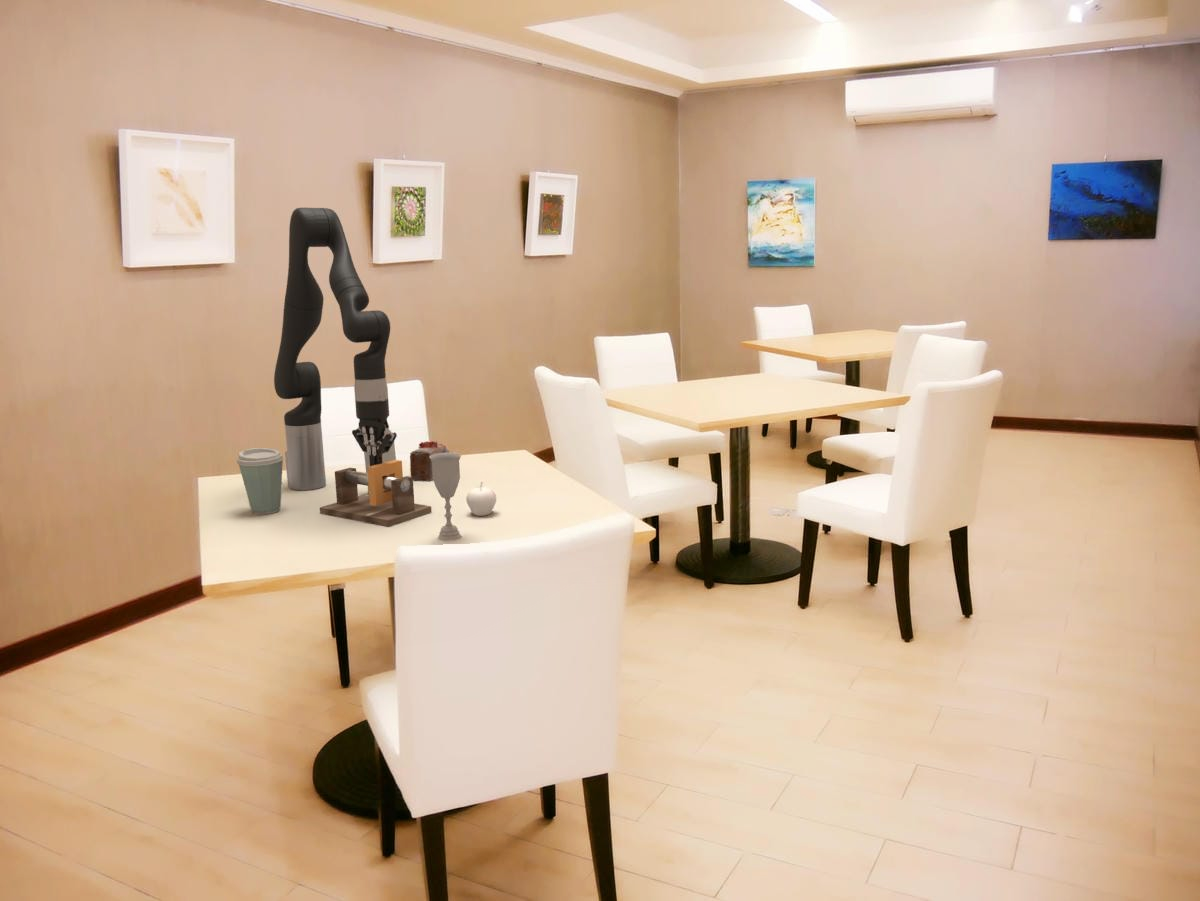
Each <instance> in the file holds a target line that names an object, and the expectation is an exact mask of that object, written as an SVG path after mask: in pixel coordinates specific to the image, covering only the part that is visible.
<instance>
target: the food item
mask: <svg viewBox="0 0 1200 901" xmlns="http://www.w3.org/2000/svg"><path fill="white" fill-rule="evenodd" d="M446 447H447V446H446V445H444V444H443V443H439V442H438V441H432V440H431V441H421V442H420V443H419V444H418V449H417V448H416V449H415V450H412V451H411V452H410V453H409V454H410V456H409V460H410V461H409V462H410V463H409V464H410V465H409V466H410V470H409V471H410V477H413V481H416V482H417V481H420V482H421V481H422V482H424V481H425V482H430V481H431V480H433V474H432V461H431V460H430V458H429V456H430V455H433V454H437V453H450V450H449V449H447V448H446Z"/></svg>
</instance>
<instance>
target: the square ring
mask: <svg viewBox="0 0 1200 901" xmlns="http://www.w3.org/2000/svg"><path fill="white" fill-rule="evenodd" d="M385 475H389V476H390V477H396V478H402V477H404V474H403V460H400V459H396V460H393V461H389V462H385V463H381V464H377V465H373V466H370V467H368V481H369V493H368V494H369V495H368V496H370V505H374V506H377V505H381V504H384V503H387V502H390V501H392V490H390V489H386V490H383V479H382V476H385Z"/></svg>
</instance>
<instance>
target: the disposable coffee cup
mask: <svg viewBox="0 0 1200 901" xmlns="http://www.w3.org/2000/svg"><path fill="white" fill-rule="evenodd" d="M283 460H284V457H283V454H282V452H280V451H279V450H278V449H274V448H266V447H257V448H253V447H252V448H247V449H245V450H244V449H243V450H241V451H240V452H238V456H237V458H236V464H237V465H238V466H239V471H240V474H241V478H242V481H243V484H244V488H245V491H246V495H247V498H248V503H249V507H250V510H251V511H252V513H253V514H254V515H257V516H258V515H259V516H260V515H263V516H264V515H271V514H274V513H278V512H279V511H280V508H281V506H282V502H281V501H282V480H283Z"/></svg>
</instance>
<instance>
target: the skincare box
mask: <svg viewBox="0 0 1200 901" xmlns="http://www.w3.org/2000/svg"><path fill="white" fill-rule="evenodd" d="M370 441H371V440H370ZM364 445H365V443H364ZM365 446H366V445H365ZM395 446H396V445H395V441H394V442H393V444H392V446H391V448H390V449H389V451H388V452H386V453H383V454H382V462H383V463H385V462H389V461H393V460H397V456H396V447H395ZM363 455H364V465H365V473H368V467H370V461H369V455H368V453H367V452H363ZM386 476H389V475H386ZM383 490H386V489H383ZM367 491H368V492H367V493H368V494H369V486H367Z"/></svg>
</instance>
